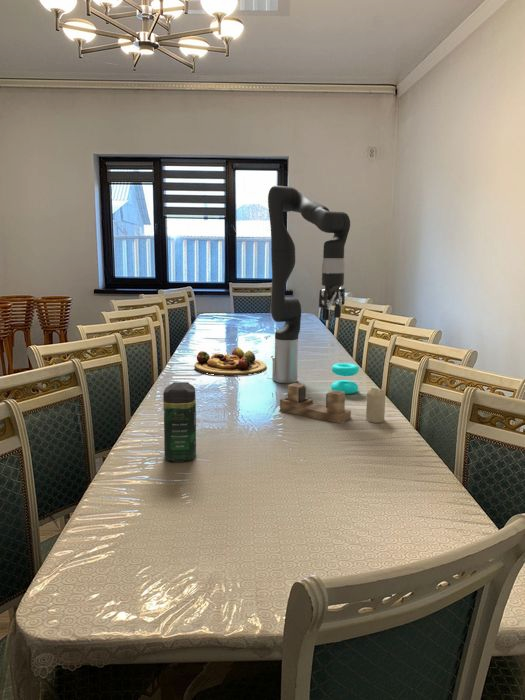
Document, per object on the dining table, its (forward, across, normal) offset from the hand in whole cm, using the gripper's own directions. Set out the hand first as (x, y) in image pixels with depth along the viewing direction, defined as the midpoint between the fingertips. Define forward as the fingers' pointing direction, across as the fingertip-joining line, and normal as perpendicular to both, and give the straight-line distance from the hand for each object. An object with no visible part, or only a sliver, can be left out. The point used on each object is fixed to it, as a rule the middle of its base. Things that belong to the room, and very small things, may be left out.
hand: (331, 318), depth 180 cm
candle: (+28, +15, +24) cm, 40 cm away
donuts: (+28, -10, +1) cm, 30 cm away
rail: (+28, +21, +6) cm, 35 cm away
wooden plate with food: (+29, -15, -58) cm, 66 cm away
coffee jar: (+28, +71, -4) cm, 76 cm away
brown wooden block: (+26, +21, -1) cm, 33 cm away
